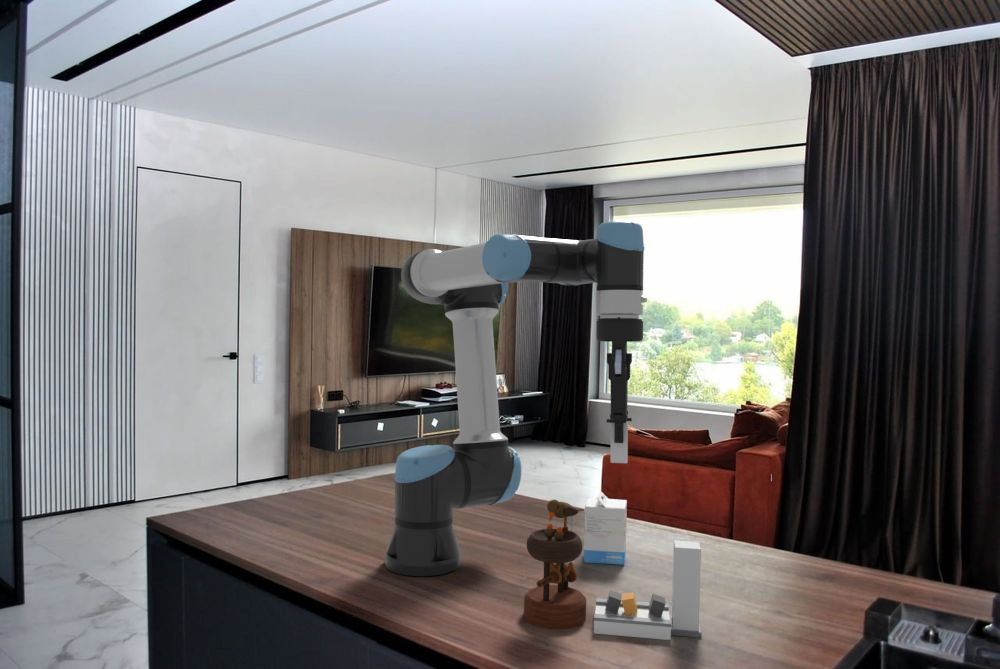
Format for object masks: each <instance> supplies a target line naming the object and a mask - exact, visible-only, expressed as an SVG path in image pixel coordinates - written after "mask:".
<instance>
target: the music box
mask: <svg viewBox="0 0 1000 669" xmlns="http://www.w3.org/2000/svg"><path fill="white" fill-rule="evenodd" d="M546 505H547V506H546V509H547V510H548V512H549V514H548V515H549V518H548V519H549V522H551V521H552V519H553V518H554V517H556V518H558V519H563V526H559V527H558V528H557V527H556V528H553V524H552V523H550V524H547V525H546V528H543V529H542V528H541V529H537V530H535V531H533V532H531V533H530V534H529V535H528V537H527V540H526V549H527V552H528V554H529V555H530V556H531V557H532V558H533V559H534V560H537V561H538V562H542V563H543V578H542V579H539V580H538V581H536V586H535V587H532V588H531V589H529V590H528V591H527V592H526V593H525V594H524V596H523V617H524V619H525V620H526V621H527V623H530V624H532V625H534V626H537V627H540V628H545V629H553V630H555V629H556V630H559V629H561V630H563V629H572V628H576V627H578V626H581V625H583V624H584V622H585V621H586V619H587V597H586V596H585V595H584V594H583V593H582V592H581V591H580V590H578V589H576V588H573V587H570V586H569V583H574V582H576V581H577V579H578V573H577V571H576V568H575V566H574V563H573V561H575V560H577V559H578V558H579V557H580V556H581V554H582V552H583V548H584V546H583V545H584V544H583V540H582V539H581V537H580V536H579V534H577V533H576V532H574V531H573V520H574V519H573V517H574V516H575V515H577V514H579V512H582V511H583V512H585V508H581V507H577V506H576V507H575V506H573V505H572V504H570V503H568V502H565V501H559V500H557V499H551V500H549V501H548V503H547V504H546ZM569 517H570V518H571V519H570V522H571V528H570V530H569V527H568V525H567V524H568V518H569ZM565 563H568V564H565ZM555 584H556V585H555Z"/></svg>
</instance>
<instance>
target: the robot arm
mask: <svg viewBox="0 0 1000 669" xmlns="http://www.w3.org/2000/svg"><path fill="white" fill-rule="evenodd" d="M595 237H596V238H591V239H585V240H582V239H579V240H577V239H564V238H563V239H562V238H554V237H552V238H551V237H538V236H531V235H530V236H529V235H520V234H516V233H506V234H505V233H504V234H503V233H499V234H498V233H497V234H494V235H492V236H490V237H489V240H487V241H485V242H483V243H477V244H474V245H473V244H472V245H468V246H463V247H458V248H453V249H448V250H447V249H436V248H427V249H421V250H417V251H415V252H413V253H412V254H410V255H409V256H408V257H407V258H406V259H405V261H404V263H403V264H402V268H401V271H400V274H401V275H400V276H401V283H402V286H403V287H404V289H405V291H406V292H407V293H408V294H409V295H410V296H411V297H412V298H413V299H415V300H417V301H419V302H421V303H424V304H429V305H440V306H441V305H443V306H444V315H445V317H446V318H447V319H448V320H450V321H451V323H452V332H453V333H452V334H453V348H454V362H455V364H454V365H455V380H456V393H457V394H456V395H457V408H458V409H457V411H458V426H459V429H458V430H459V435H458V436H457V437H456V439H454V440H453V442H452V444H453V445H452V446H453V447H452V446H450V445H446V444H434V445H433V444H432V445H430V444H427V445H421V446H416V447H413V448H412V447H411V448H409V449H407V450H404V451H403V452H401V454H399V455H398V456H397V459H396V460H395V461H396V462H395V471H394V476H393V477H394V527H393V531H392V533H391V536H390V539H389V542H388V545H387V548H386V551H385V555H384V558H385V559H384V562H385V563H384V566H385V567H386V569H388V570H389V571H390V572H393V573H395V574H399V575H403V576H411V577H431V576H432V577H433V576H439V575H445V574H448V573H452V572H453V571H455V570H457V569H459V568H460V566H461V562H462V561H461V559H462V558H461V555H462V554H461V550H460V547H459V544H458V540H457V537H456V533H455V530H454V527H453V525H454V524H453V515H454V514H453V511H454V510H457V509H458V510H459V509H466V508H472V507H479V506H494V505H497V504H499V503H504V502H508V501H509V500H511V499H512V498H513V497H514V495H516V492H517V491H518V490H519V486H520V484H521V480H522V463H521V458H520V456H518V452H517V451H516V449H514V448H513V447H511V446H509V438H508V437H507V436H506V435H505V434H503V433H502V432H501V424H500V409H499V408H500V407H499V399H498V398H499V396H498V385H497V384H498V382H497V370H496V368H497V367H496V354H495V353H496V352H495V339H494V338H495V337H494V325H493V320H494V318H495V317H496V316H497V315H498V313H500V312H499V306H500V305H502V304H503V303H504V302H505V300H506V298H507V293H508V290H509V284H510V283H521V282H522V283H523V282H527V283H528V282H529V283H531V282H532V283H533V282H534V283H535V282H536V283H537V282H538V283H547V284H549V283H551V284H558V285H563V286H574V287H576V286H581V285H585V284H594V283H595V284H596V292H595V294H596V295H595V300H596V302H595V303H596V304H595V308H596V309H595V310H596V312H595V313H596V315H597V316H599V318H597V320H596V336H595V337H596V340H597V341H598V342H609V343H610V342H611V352H607V353H606V364H607V365H608V369H607V370H608V374H607V376H608V380H609V381H610V414H609V418H606V423H610V453H609V454H610V461H609V462H610V463H612V464H628V460H629V459H628V453H629V452H628V451H629V450H628V449H629V447H628V446H629V445H628V443H629V440H628V439H629V426H628V425H629V424H628V423H629V422H632V420H633V418H632V416H628V415H629V411H628V398H629V397H628V391H629V390H628V389H629V387H628V385H629V384H628V383H629V382H628V381H630V379H631V364H632V363H633V353H632V352H628V342H630V343H631V342H637V343H639V342H642V341H643V339H644V321H643V318H640V316H642V315H643V314H644V305H643V304H644V303H647V302H648V298H647V296H643V295H644V293H643V291H644V259H645V258H644V257H645V255H644V251H645V245H644V230H643V227H642V225H641V224H639V223H638V222H635V221H629V220H627V221H625V220H616V221H615V220H613V221H605V222H602V223H599V225H598V226H597V228H596V235H595ZM642 303H643V304H642Z"/></svg>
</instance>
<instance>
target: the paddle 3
mask: <svg viewBox="0 0 1000 669" xmlns="http://www.w3.org/2000/svg"><path fill="white" fill-rule="evenodd" d="M650 598H651V599H650V604H649V614H652V615H654V616H657V617H660V618H661V616H662V613H663V610H664V607H665V604H666V598H665V597H664V596H661V595H658V594H655V593H652V595H651V597H650Z"/></svg>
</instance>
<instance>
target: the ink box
mask: <svg viewBox="0 0 1000 669" xmlns="http://www.w3.org/2000/svg"><path fill="white" fill-rule="evenodd" d="M627 504H628V500H627V499H617V498H616V499H614V498H608V496H606V495H605V494H604V492H602V491H601V490H599V492H598V495H597V497H596V498H595V497H588V499H587V501H586V503H585V506H584V541H583V542H584V543H583V545H584V546H583V548H584V549H583V550H584V551H583V561H584V563H588V564H589V563H590V564H591V563H592V564H608V565H623V566H624V565H625V563H626V562H625V561H626V556H627V521H628V520H627V519H628V518H627V512H628V510H627V508H628V506H627Z"/></svg>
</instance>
